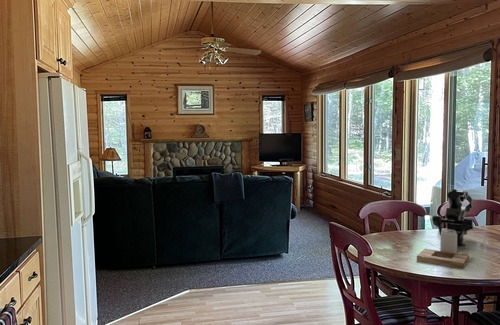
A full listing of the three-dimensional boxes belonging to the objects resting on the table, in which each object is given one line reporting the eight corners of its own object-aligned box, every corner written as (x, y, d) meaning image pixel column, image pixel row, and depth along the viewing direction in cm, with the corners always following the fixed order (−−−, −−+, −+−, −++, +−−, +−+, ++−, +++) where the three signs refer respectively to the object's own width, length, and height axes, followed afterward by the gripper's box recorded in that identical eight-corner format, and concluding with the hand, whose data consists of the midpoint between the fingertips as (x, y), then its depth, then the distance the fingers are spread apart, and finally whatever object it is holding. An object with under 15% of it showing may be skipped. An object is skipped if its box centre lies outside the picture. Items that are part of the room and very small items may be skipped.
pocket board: (424, 253, 211) (424, 248, 211) (468, 260, 199) (468, 255, 199) (416, 260, 199) (416, 255, 199) (463, 268, 187) (463, 262, 187)
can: (458, 256, 206) (459, 232, 205) (442, 255, 207) (442, 231, 206) (454, 251, 213) (454, 228, 212) (438, 251, 215) (439, 228, 214)
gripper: (433, 200, 220) (427, 225, 212) (473, 203, 209) (468, 229, 201) (436, 212, 227) (431, 237, 219) (475, 216, 216) (471, 242, 208)
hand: (450, 236), depth 212 cm, fingers open, 9 cm apart
